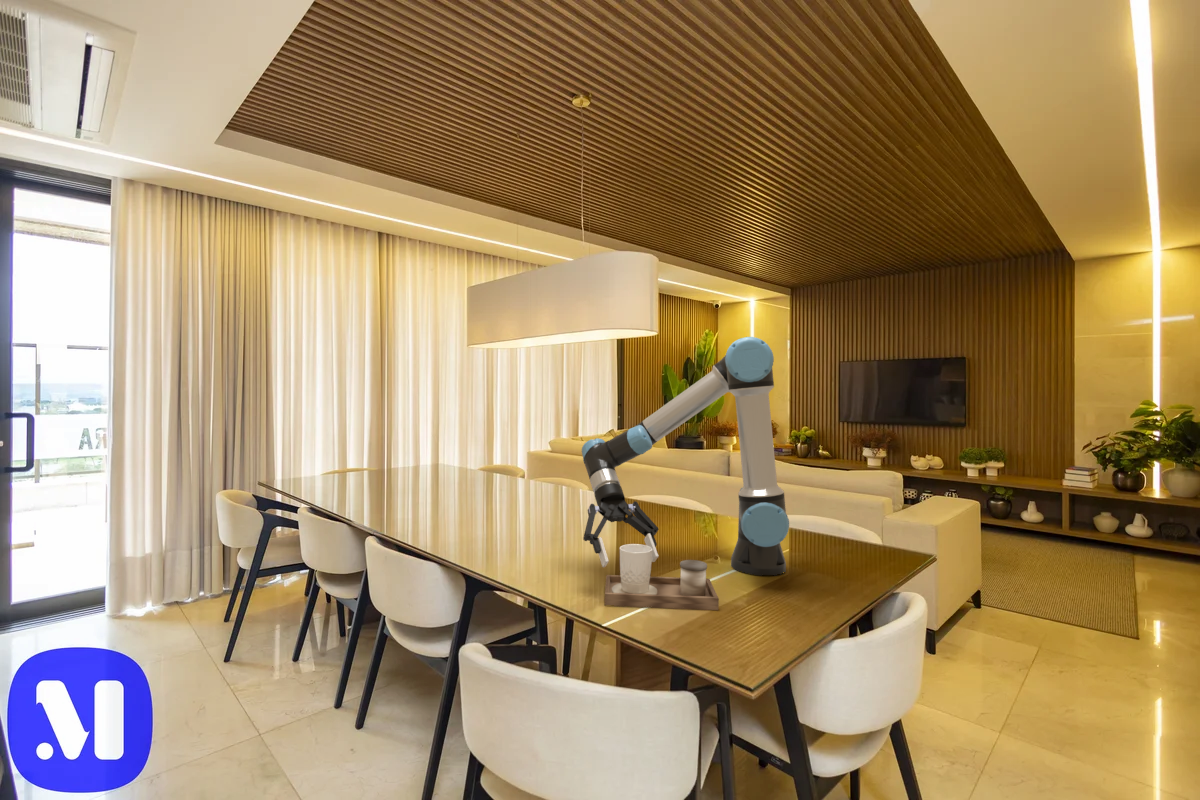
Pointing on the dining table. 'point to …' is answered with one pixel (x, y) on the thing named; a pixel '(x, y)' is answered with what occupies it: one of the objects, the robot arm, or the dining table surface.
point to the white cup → (635, 568)
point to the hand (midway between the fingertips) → (631, 561)
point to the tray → (668, 590)
